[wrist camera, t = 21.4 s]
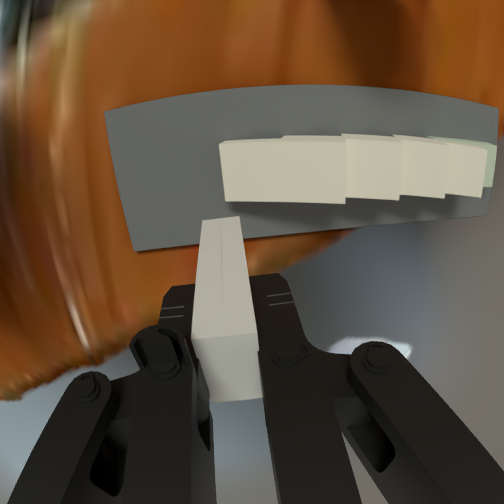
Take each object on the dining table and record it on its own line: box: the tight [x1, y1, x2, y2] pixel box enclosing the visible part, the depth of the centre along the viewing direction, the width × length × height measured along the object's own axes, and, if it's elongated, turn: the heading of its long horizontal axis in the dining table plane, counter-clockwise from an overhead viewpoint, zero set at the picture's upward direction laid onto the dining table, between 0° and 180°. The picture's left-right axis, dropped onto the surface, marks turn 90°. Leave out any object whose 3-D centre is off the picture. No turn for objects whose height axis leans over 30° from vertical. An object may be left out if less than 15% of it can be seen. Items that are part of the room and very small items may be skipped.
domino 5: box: [426, 136, 497, 187], centre depth 26 cm, size 2×5×10 cm
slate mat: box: [104, 85, 499, 251], centre depth 27 cm, size 42×14×1 cm, turn 95°
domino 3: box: [341, 134, 450, 198], centre depth 25 cm, size 2×5×10 cm
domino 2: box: [282, 135, 403, 200], centre depth 25 cm, size 2×5×10 cm
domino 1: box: [219, 138, 346, 204], centre depth 24 cm, size 2×5×10 cm
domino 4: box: [392, 134, 487, 198], centre depth 25 cm, size 2×5×10 cm
